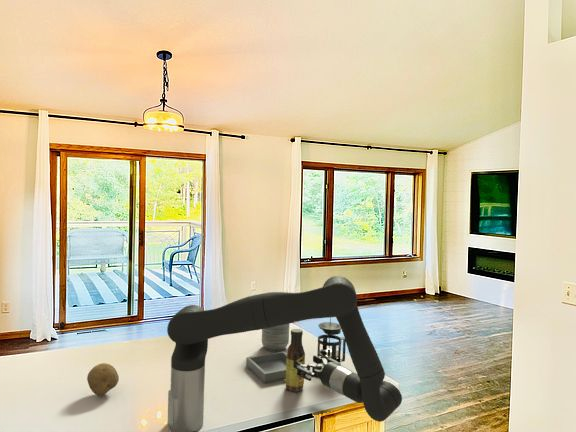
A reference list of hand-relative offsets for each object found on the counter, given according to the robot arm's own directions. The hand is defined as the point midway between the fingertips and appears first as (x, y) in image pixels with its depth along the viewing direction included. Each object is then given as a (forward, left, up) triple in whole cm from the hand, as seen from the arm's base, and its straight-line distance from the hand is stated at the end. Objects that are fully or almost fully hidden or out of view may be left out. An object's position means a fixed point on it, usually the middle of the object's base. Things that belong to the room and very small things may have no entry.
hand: (304, 360), depth 138 cm
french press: (+19, +12, -11) cm, 25 cm away
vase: (+10, +40, -11) cm, 43 cm away
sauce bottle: (-1, +4, -11) cm, 12 cm away
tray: (-1, +19, -11) cm, 22 cm away
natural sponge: (-59, +25, -11) cm, 65 cm away
